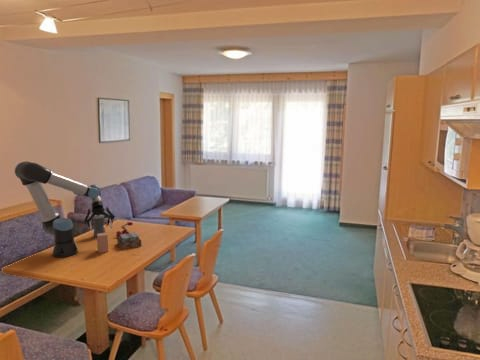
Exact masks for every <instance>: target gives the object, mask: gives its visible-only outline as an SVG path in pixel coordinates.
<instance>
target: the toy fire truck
mask: <svg viewBox="0 0 480 360" xmlns="http://www.w3.org/2000/svg"><path fill="white" fill-rule="evenodd" d="M133 225H134V224H133V222H131V221H127V222H126V223H125V224H122V225H121V227H120V228H121V229H122V231H120V230H118V231H116V235H115V237H116V238H118V237H119V238H120V234H127V233H130V231H128V229H127V228H126V227H127V226H133Z"/></svg>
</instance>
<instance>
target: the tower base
mask: <svg viewBox="0 0 480 360" xmlns="http://www.w3.org/2000/svg"><path fill="white" fill-rule="evenodd" d="M116 238H117V239H116V240H117V242H116V243H117V245H118V246H119V248H120V250H126V249H132V248H136V247H142V239H141V238H140V237H139V235H138V234H137V233H136V231H135V232H129V233H127V234H120V237H116Z"/></svg>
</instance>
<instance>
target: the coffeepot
mask: <svg viewBox="0 0 480 360" xmlns="http://www.w3.org/2000/svg"><path fill="white" fill-rule="evenodd" d="M105 219H107V224H105V221H106V220H105ZM109 220H110V219H109V218H107V217H106V216H104V215H95V216H94V217H93V218H92V220H91V223H92V224H93V226H94V229H93V237H94V238H97V234H99V233H107V232H106V229H105V227H107V226H110V221H109ZM104 225H105V226H104Z"/></svg>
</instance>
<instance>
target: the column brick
mask: <svg viewBox="0 0 480 360" xmlns="http://www.w3.org/2000/svg"><path fill="white" fill-rule="evenodd" d="M96 241H97V243H96V244H97V251H98V253H99V254H103V253H109V239H108V234H107V232H106V233H99V234H97V237H96Z"/></svg>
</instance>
